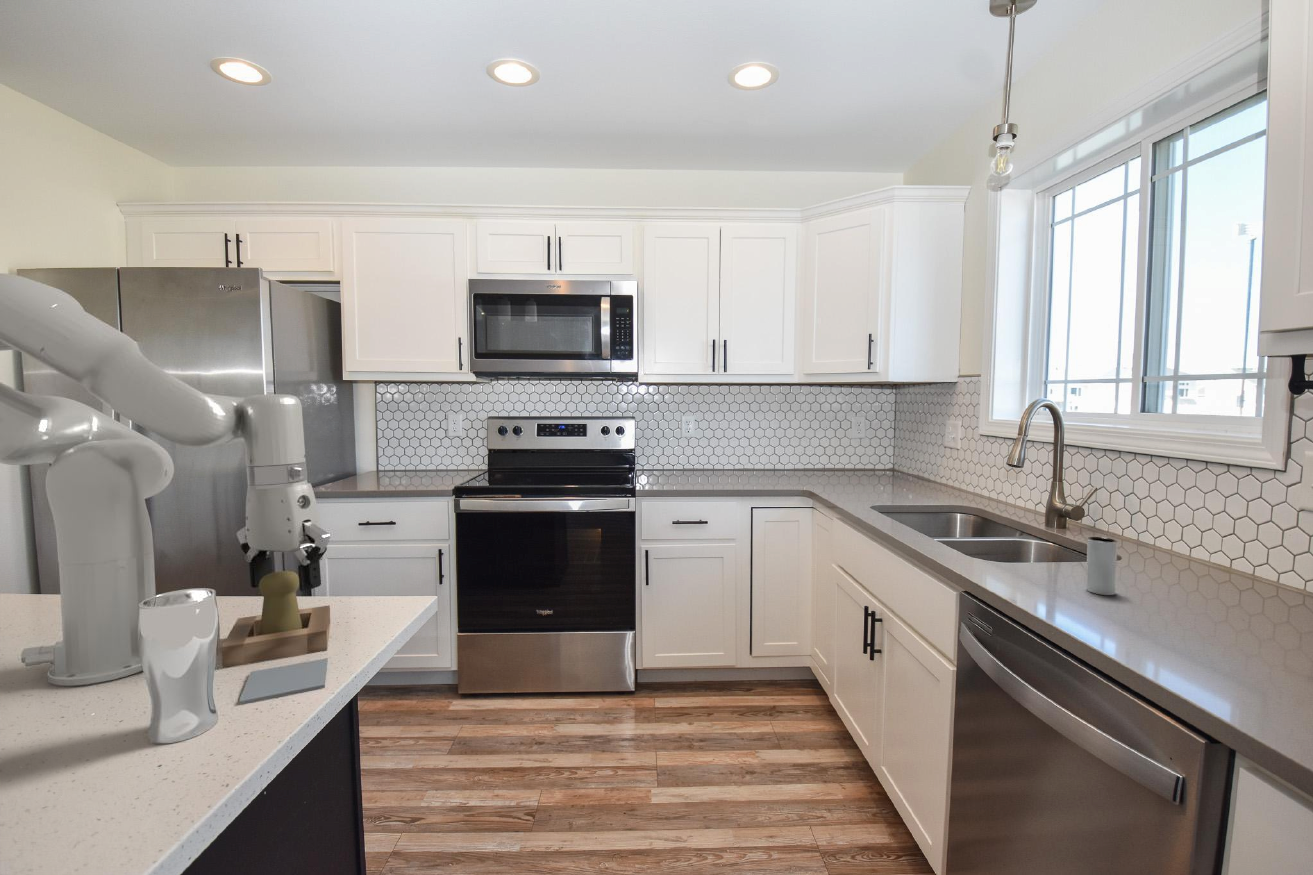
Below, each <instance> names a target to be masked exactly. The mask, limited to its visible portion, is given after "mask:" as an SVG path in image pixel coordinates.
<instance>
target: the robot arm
mask: <svg viewBox="0 0 1313 875" xmlns="http://www.w3.org/2000/svg"><path fill="white" fill-rule="evenodd" d="M14 350H15V351H17V352H19V353H22V354H23V355H25V356H27V357H28V358H31V359H33V360H35V361H37V362H38V363H40V364H42V365H43V366H45V367H47V368H49V369H52V370H53V371H55V372H57V373H59V374H60V375H62V376H64V377H66V378H67V379H70V380H71V381H73V382H74V383H76V384H78V385H80V386H82V387H83V388H84V389H85V390H86V391H87V392H88V393H89V394H91V395H92V396H93V397H95V398H97V400H99V401H100V402H102V403H103V404H105V405H106V406H107V407H109V408H110V409H111V410H113V411H114V412H115V413H118V414H119V415H120V416H122V417H124V418H125V419H127V420H130V421H131V422H133V423H134V424H137V425H138V426H141V427H142V428H143V429H146V430H148V431H150V432H151V433H154V434H155V435H157V436H159V437H161V438H162V439H165V440H167V441H169V442H172V443H174V444H176V445H177V446H178V445H179V446H182V447H186V448H191V449H201V448H202V449H203V448H210V447H217V446H223V445H229V444H235V443H241V442H242V443H243V442H244V451H245V452H244V453H245V465H246V476H247V479H246V480H247V491H246V499H245V526H244V527H242V528H240V530H238V531H237V532H236V538H237V539H238V541H239V543H240V549H241V550H242V552H243V553H244V554H245V560H246V562H248V565H249V567H248V568H249V578H250V587H251V588H255V589H256V588H259V583H260V580H261V579H262V577H264V576H265V575H267V574H270V573H273V562H272V561H273V560H272V557H271V556H268V555H269V554H270V553H271V552H277V553H293V554H294V555H295V556H296V558H297V559H298V560H299V561H300V564H298V566H297V567H298V568H297V572H298V577H299V591H301V592H308V591H310V590H313V589H317V588H319V587H321V585H322V578H321V565H320V563H321V562H320V561H322V560H324V559H323V558H324V555H325V553H326V552H327V549H328V547H327V546H328V544H329V540H330V539H331V535H330V534H329V532H327V531H326V530H324V529H322V527H321V524H320V523H321V522H320V516H319V510H318V504H317V499H316V496H315V492H314V489H313V486H312V483H310V482H308V473H309V472H308V470H307V460H306V449H305V448H306V446H305V433H304V422H303V419H304V418H303V407H302V402H301V400H300V399H299V398H298V397H297V396H295V395H293V394H277V393H275V394H273V393H272V394H254V395H249V396H247V397H242V396H230V395H218V394H211V393H203V392H201V391H200V390H198V389H196V388H195V387H192V386H191V385H189V384H187V383H186V382H184V381H182V380H181V379H179V378H177V377H175V376H173V375H172V374H171V373H168V372H167V371H164V369H161V368H160V367H158V365H155V364H154V363H153V362H151V361H150V360H149V359H148V358H147V357H145V356H144V354H143V353H142V352H141V351H140V349H139V345H138V343H137V342H136V341H135V340H134V339H132V337H131V336H129V335H127V334H125V333H124V332H122V331H120V330H119V329H117V328H115V327H113V326H111V325H110V324H108V323H106V322H104V321H102V320H101V319H99V318H97V317H96V316H94V315H92V314H91V313H88V312H87V311H85V309H84V308H83V306H82V305H81V304H80V302H79V301H78V300H77V299H75V298H74V297H73V296H72V295H71V294H69V293H67V292H66V291H63V290H62V289H59V288H57V287H54V286H51V285H48V284H45V283H42V282H39V281H37V280H33V279H30V278H28V277H24V276H20V275H17V274H12V273H4V272H3V273H1V272H0V351H1V352H2V351H3V352H4V351H14ZM45 463H47V464H50V466H49V467H48V470H47V472H46V476H45V492H46V496H47V500H48V504H49V508H50V511H51V514H52V518H53V523H54V528H55V536H56V545H57V546H56V547H57V548H56V549H57V561H58V569H59V571H58V572H59V592H60V606H61V607H60V608H61V609H60V610H61V611H60V612H61V627H62V628H61V629H62V630H61V632H62V640H60V641H57V642H55V643H54V644H53V645H46V646H45V645H41V646H33V647H26V648H23V650H22V651H21V655H20V660H21V663H22V664H24V665H25V667H27V668H28V667H32V666H40V665H43V664H48V663H49V664H50V665H53V666H52V667H50V669H48V671H47V681H48V683H50V684H52V685H55V686H60V687H61V686H63V687H72V686H74V687H75V686H76V687H77V686H84V685H85V686H86V685H92V684H98V683H102V682H108V681H112V680H117V679H121V678H124V677H128V676H131V675H134V674H138V673H140V672H143V670H142V666H141V661H140V657H139V648H138V620H139V603H140V602H141V601H143V600H145V599H147V598H149V597H152V596H155V595H157V594H156V578H155V577H156V574H155V555H154V554H155V553H154V552H155V550H154V539H153V538H154V537H153V530H152V529H153V528H152V523H151V518H150V515H149V514H150V513H149V512H148V508H147V504H146V500H145V499H148V498H151V497H154V496H155V495H157V494H159V493H160V492H162V491H163V490H165V489H166V488H167V486H168V485H169V484H170V483H171V481H172V479H173V476H174V474H175V467H174V466H175V465H174V461H173V459H172V457H171V454H169V453H168V451H167V450H166V449H165V448H164V447H162V446H161V445H160V444H159V443H157V442H156V441H154V440H152V439H151V438H149V437H147V436H145V435H144V434H141V433H140V432H137V430H135V429H132V428H130V427H129V426H128V425H127V426H126V425H125V424H123V423H121V422H120V421H118V420H115V419H113V418H112V417H110V416H109V415H106V414H104V413H103V412H101V411H99V410H97V409H95V408H93V407H91V406H89V405H87V404H85V403H82V402H80V401H77V400H74V399H71V398H67V397H64V396H63V397H62V396H57V395H56V396H54V395H42V394H32V393H27V392H23V391H20V390H17V389H15V388H13V387H11V386H9V385H7V384H5V383H3V382H1V381H0V464H3V465H10V466H25V465H28V466H29V465H37V464H45ZM306 550H307V551H308V552H307V553H306Z"/></svg>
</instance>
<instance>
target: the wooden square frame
mask: <svg viewBox="0 0 1313 875" xmlns="http://www.w3.org/2000/svg"><path fill="white" fill-rule="evenodd" d="M299 613H300V618H301V624H302V629H298V630H292V631H285V632H279V633H272V634H266V635H260V636H259V634H260V626H261V617H262V614H259V615H251V616H246V617H238V618H237V619H236V621H235V623H234V624H233V626H232V628H231V629H230V631H229V633H228V635H227V637H226V638H225V641H224V642H223V644H222V645H221V665H222V666H221V667H222V669H226V668H227V669H228V668H232V667H233V668H234V667H239V666H244V665H249V664H250V665H251V664H255V663H260V662H261V663H262V662H267V661H273V660H279V659H284V658H290V657H291V658H292V657H297V656H302V655H307V654H314V653H319V652H325V651H326V652H327V651H328V647H329V638H330V627H331V605H330V604H329V605H323V606H314V607H307V608H301V609H299Z"/></svg>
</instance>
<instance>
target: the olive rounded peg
mask: <svg viewBox="0 0 1313 875" xmlns="http://www.w3.org/2000/svg"><path fill="white" fill-rule="evenodd" d="M299 588H300V586H299V574H297V573H296V572H295V571H290V570H280V571H275V572H272V573H270V574H267V575H265V576H264V577H262V579H261V580H260V583H259V587H258V592H259V594H260V595H261V596H262V597H263V603H262V609H261V610H262V611H261V615H262V617H261V626H260V634H259V636H260V635H266V634H272V633H279V632H285V631H292V630H298V629H302V624H301V618H300V613H299V610H300V609H299V603H298V598H297V593H296V592H297V591H298V589H299Z"/></svg>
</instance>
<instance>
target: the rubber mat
mask: <svg viewBox="0 0 1313 875" xmlns="http://www.w3.org/2000/svg"><path fill="white" fill-rule="evenodd" d="M327 668H328V657H326V658H319V659H315V660H310V661H303V662H298V663H293V664H292V663H291V664H287V665H281V666H276V667H270V668H269V667H268V668H264V669H258V670H254V671H250V672H249V674H248V678H247V680H246V682H245V685H244V687H243V689H242V690H243V691H242V693H241V695H240V698H239V701H238V705H239V706H240V705H241V706H242V705H244V704H249V703H254V702H259V701H260V702H261V701H264V700H270V699H275V698H278V697H280V698H281V697H285V696H290V695H294V694H300V693H304V692H309V691H313V690H320V689H325V686H326V678H327Z"/></svg>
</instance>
